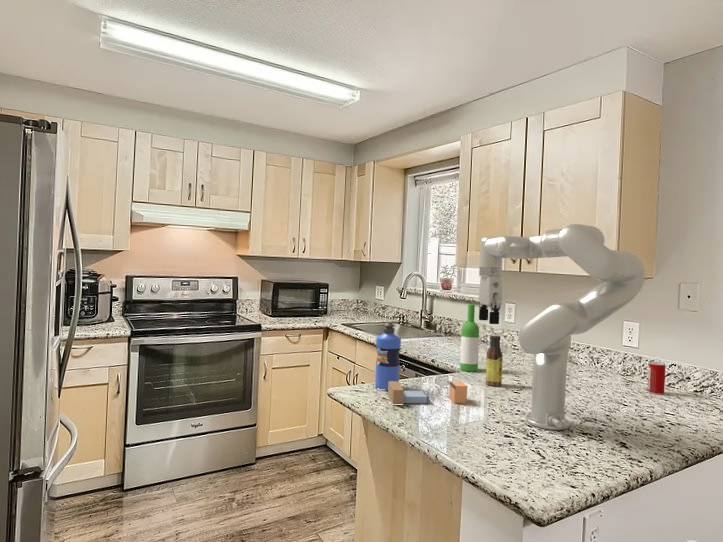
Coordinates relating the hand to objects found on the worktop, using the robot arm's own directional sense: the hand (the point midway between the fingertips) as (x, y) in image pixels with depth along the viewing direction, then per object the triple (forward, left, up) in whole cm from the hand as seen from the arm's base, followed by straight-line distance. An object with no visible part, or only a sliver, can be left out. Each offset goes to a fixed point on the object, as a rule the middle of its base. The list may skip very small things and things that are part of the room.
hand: (488, 322), depth 158 cm
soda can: (+13, -74, -28) cm, 80 cm away
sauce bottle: (+23, -12, -28) cm, 39 cm away
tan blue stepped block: (+2, +27, -28) cm, 39 cm away
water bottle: (+18, +32, -28) cm, 46 cm away
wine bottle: (+47, -10, -28) cm, 56 cm away
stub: (+2, +9, -28) cm, 30 cm away
